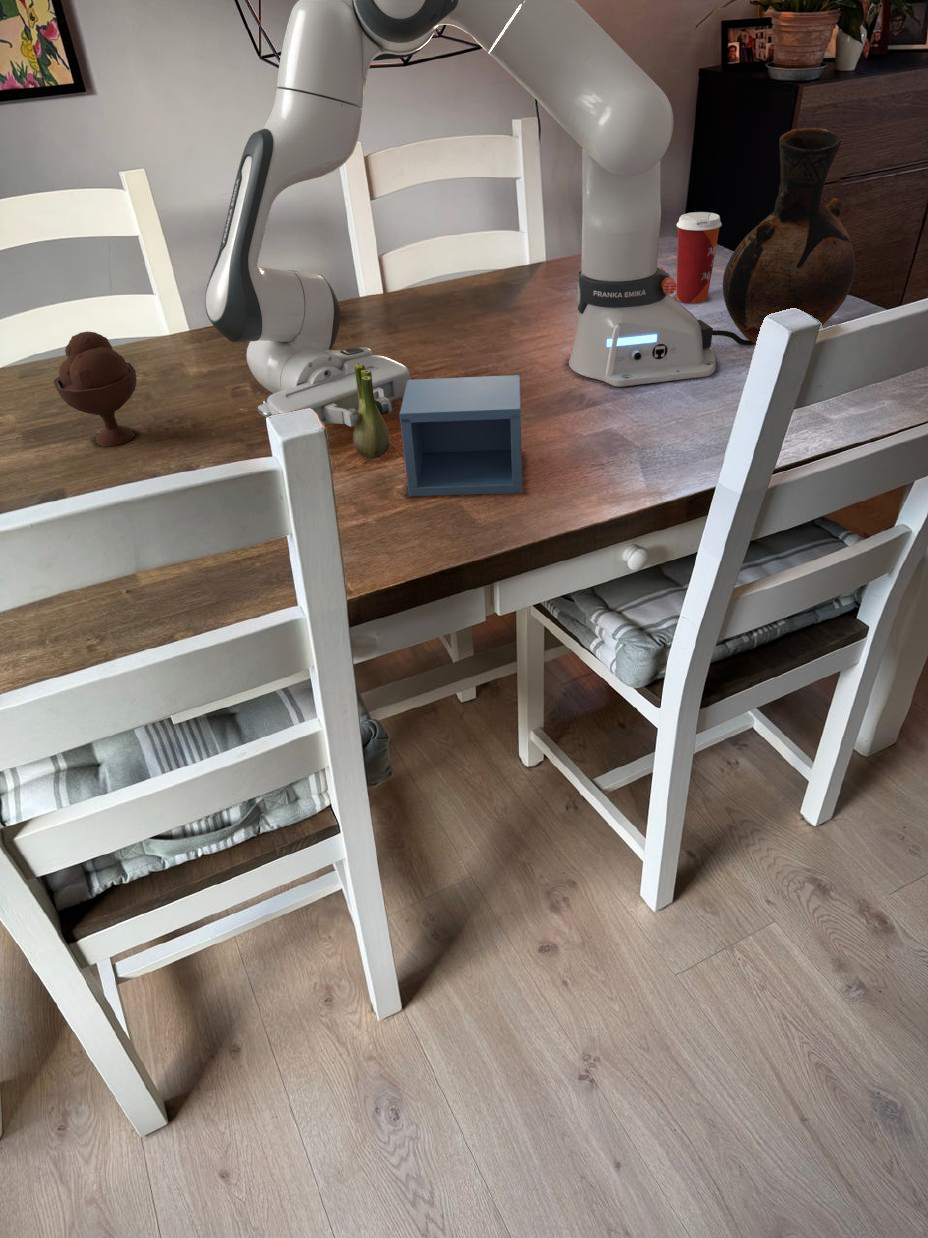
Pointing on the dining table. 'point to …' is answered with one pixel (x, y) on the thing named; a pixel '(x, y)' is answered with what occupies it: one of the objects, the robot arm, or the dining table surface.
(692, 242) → the paper cup
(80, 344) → the ice cream bowl
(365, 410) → the fennel bulb
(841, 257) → the ceramic vessel
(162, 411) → the dining table surface
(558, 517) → the dining table surface
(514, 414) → the box
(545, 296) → the dining table surface
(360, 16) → the robot arm
